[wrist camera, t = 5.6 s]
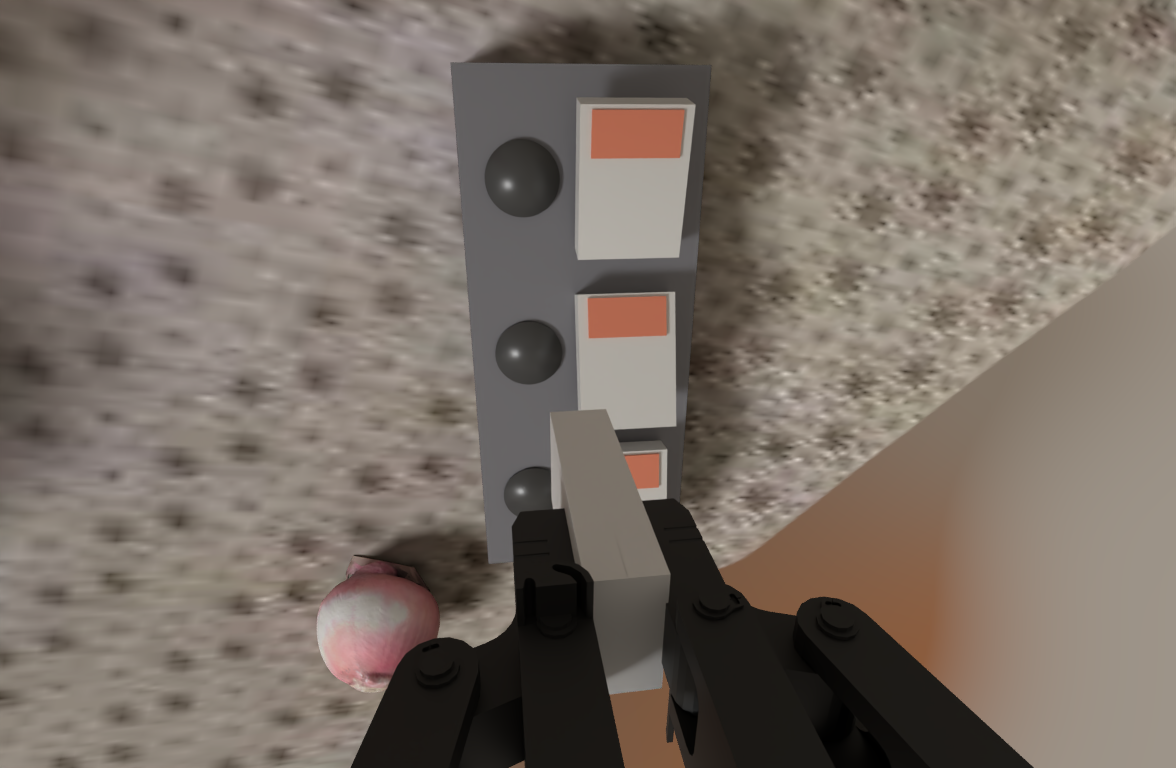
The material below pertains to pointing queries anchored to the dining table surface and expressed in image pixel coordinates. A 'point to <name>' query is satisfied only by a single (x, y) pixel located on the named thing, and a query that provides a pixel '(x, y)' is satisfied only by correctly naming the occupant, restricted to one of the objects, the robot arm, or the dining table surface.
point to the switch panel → (551, 263)
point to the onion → (374, 622)
